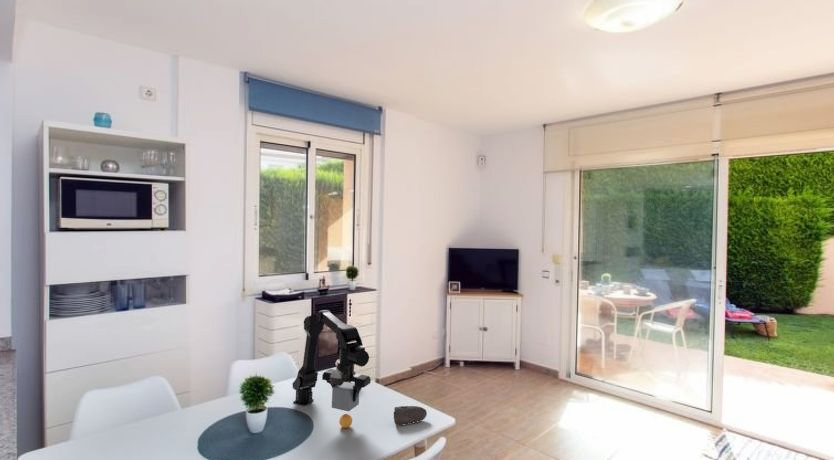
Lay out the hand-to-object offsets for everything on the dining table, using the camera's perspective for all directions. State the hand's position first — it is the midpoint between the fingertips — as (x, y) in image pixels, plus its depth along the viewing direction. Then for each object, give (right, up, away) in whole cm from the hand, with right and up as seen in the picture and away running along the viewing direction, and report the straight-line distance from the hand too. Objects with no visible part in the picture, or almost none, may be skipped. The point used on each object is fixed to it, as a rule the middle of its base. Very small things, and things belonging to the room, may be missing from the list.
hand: (345, 399), depth 166 cm
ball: (0, -8, 0) cm, 8 cm away
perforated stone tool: (+25, -12, +6) cm, 28 cm away
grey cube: (0, -2, 0) cm, 2 cm away
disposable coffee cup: (-8, -11, +45) cm, 47 cm away
